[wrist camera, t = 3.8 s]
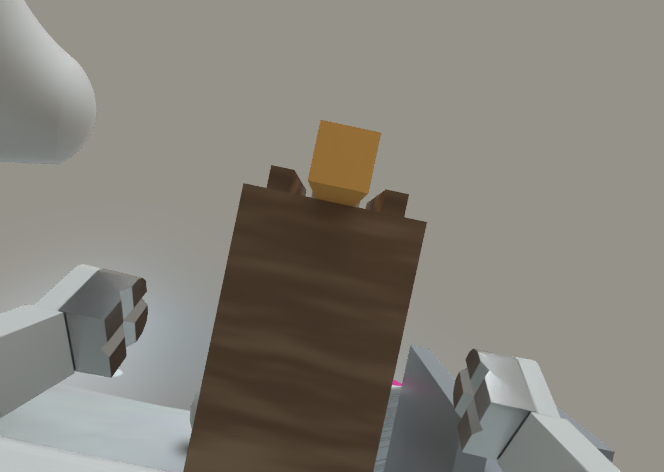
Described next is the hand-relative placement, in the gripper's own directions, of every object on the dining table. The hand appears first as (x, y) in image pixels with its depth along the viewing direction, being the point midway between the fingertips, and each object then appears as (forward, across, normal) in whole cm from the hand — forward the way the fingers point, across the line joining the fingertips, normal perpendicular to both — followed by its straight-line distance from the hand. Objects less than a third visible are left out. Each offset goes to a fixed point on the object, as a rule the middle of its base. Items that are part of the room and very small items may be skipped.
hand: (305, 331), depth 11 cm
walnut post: (+8, 0, +34) cm, 35 cm away
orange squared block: (+18, 0, +5) cm, 18 cm away
